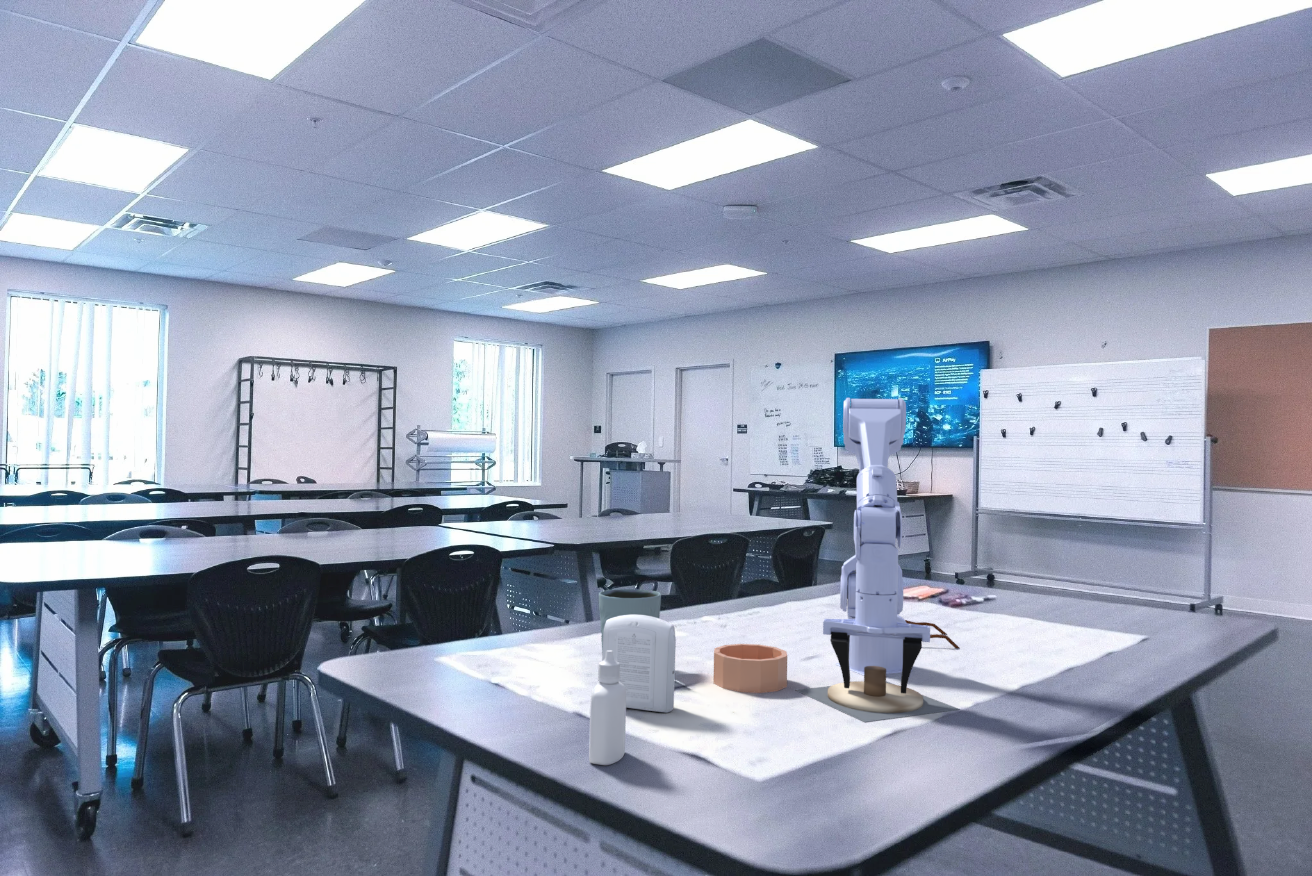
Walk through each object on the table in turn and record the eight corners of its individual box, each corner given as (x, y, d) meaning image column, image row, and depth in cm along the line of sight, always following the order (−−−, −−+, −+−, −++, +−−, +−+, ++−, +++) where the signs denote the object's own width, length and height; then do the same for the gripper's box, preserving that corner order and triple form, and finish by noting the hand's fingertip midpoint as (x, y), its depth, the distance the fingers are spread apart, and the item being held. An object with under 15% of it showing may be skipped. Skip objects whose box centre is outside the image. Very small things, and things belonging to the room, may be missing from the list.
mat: (883, 683, 133) (883, 680, 133) (960, 712, 118) (960, 709, 118) (794, 693, 126) (794, 689, 126) (864, 725, 111) (864, 721, 111)
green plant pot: (623, 679, 132) (625, 600, 132) (583, 666, 139) (585, 591, 140) (673, 669, 138) (674, 594, 139) (632, 657, 146) (634, 586, 146)
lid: (881, 683, 131) (882, 654, 131) (943, 707, 119) (944, 675, 119) (809, 691, 125) (809, 661, 125) (866, 717, 113) (867, 684, 113)
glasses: (878, 633, 173) (879, 607, 173) (946, 636, 171) (946, 610, 171) (887, 647, 160) (887, 620, 160) (960, 651, 158) (961, 623, 158)
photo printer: (678, 706, 118) (680, 615, 119) (669, 715, 114) (671, 621, 114) (607, 698, 121) (609, 609, 122) (596, 707, 117) (598, 615, 118)
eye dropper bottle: (575, 757, 98) (577, 650, 98) (614, 747, 101) (617, 644, 101) (599, 769, 94) (601, 658, 95) (638, 757, 98) (641, 651, 98)
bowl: (761, 673, 137) (762, 641, 137) (800, 691, 127) (801, 657, 127) (701, 679, 132) (701, 646, 132) (736, 698, 123) (737, 663, 123)
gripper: (821, 593, 120) (820, 691, 120) (931, 599, 116) (930, 701, 116) (825, 585, 127) (824, 679, 127) (929, 592, 123) (928, 688, 123)
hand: (874, 689), depth 122 cm, fingers open, 7 cm apart
